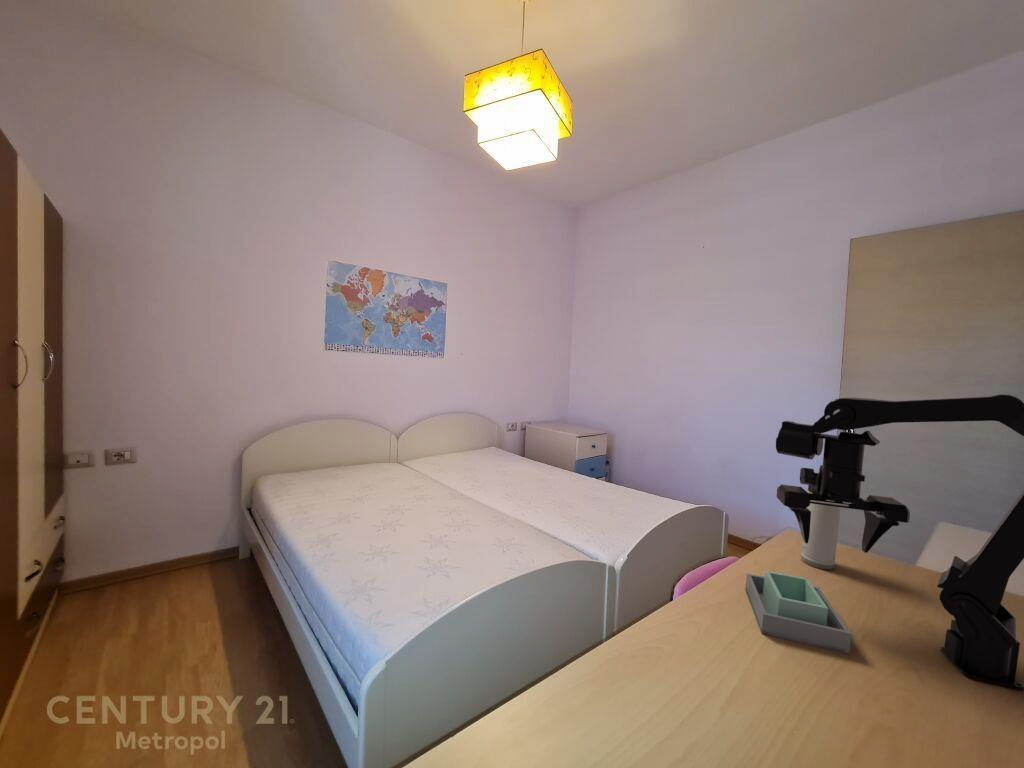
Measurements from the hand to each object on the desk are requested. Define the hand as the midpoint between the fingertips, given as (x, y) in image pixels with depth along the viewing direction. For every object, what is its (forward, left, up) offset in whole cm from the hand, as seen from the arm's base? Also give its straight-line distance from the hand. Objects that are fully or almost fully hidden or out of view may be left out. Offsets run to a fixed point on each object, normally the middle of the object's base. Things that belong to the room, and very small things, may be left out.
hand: (834, 546), depth 77 cm
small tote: (+8, +7, -11) cm, 15 cm away
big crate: (+8, +7, -12) cm, 16 cm away
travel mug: (-4, -20, -12) cm, 24 cm away
